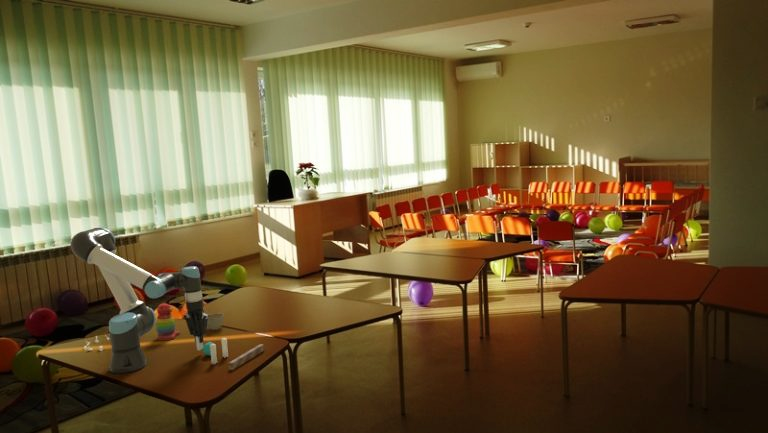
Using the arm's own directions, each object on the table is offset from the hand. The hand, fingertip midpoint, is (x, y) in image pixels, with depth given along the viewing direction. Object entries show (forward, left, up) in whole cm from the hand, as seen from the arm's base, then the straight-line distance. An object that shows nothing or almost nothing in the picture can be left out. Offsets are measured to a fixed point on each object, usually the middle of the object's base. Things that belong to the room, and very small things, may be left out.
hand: (200, 349), depth 271 cm
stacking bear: (+18, +36, -3) cm, 40 cm away
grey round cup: (+35, +19, -3) cm, 40 cm away
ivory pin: (0, -14, -2) cm, 14 cm away
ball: (0, -5, +1) cm, 5 cm away
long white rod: (-1, -27, -2) cm, 27 cm away
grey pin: (-8, -14, -2) cm, 17 cm away
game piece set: (+1, +61, -3) cm, 61 cm away
